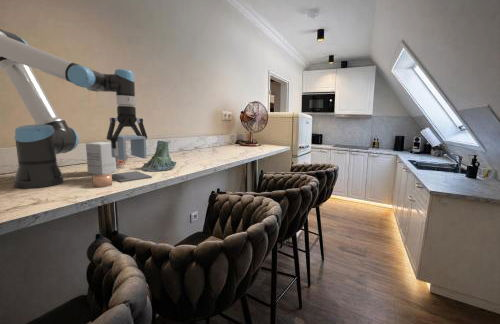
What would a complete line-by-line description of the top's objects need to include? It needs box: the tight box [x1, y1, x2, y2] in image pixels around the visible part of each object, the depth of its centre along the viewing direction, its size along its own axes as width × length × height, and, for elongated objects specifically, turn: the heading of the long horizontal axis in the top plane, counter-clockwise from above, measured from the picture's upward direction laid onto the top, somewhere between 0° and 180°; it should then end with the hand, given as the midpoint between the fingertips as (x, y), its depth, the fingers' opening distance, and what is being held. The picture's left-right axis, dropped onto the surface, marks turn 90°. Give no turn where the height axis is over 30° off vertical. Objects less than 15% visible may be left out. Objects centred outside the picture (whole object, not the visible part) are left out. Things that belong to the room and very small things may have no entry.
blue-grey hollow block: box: [110, 134, 148, 161], centre depth 114 cm, size 14×10×10 cm
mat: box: [110, 170, 153, 183], centre depth 116 cm, size 16×14×1 cm
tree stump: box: [140, 140, 177, 173], centre depth 140 cm, size 18×20×18 cm
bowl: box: [92, 173, 113, 188], centre depth 100 cm, size 7×7×4 cm
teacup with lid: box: [116, 153, 129, 169], centre depth 138 cm, size 12×9×12 cm
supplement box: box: [85, 141, 117, 175], centre depth 122 cm, size 9×9×15 cm
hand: (128, 154), depth 115 cm, fingers closed on blue-grey hollow block, 10 cm apart
